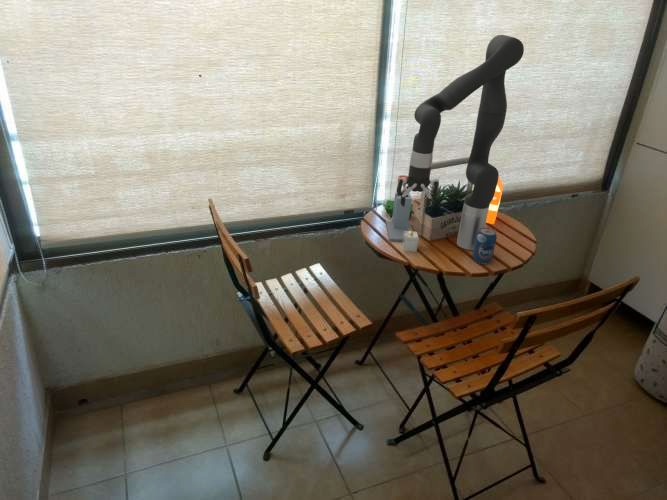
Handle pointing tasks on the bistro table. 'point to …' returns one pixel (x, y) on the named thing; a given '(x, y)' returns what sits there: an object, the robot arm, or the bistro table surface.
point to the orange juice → (495, 203)
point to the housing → (410, 241)
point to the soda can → (484, 245)
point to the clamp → (390, 207)
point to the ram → (404, 183)
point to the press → (399, 219)
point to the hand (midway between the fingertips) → (414, 206)
